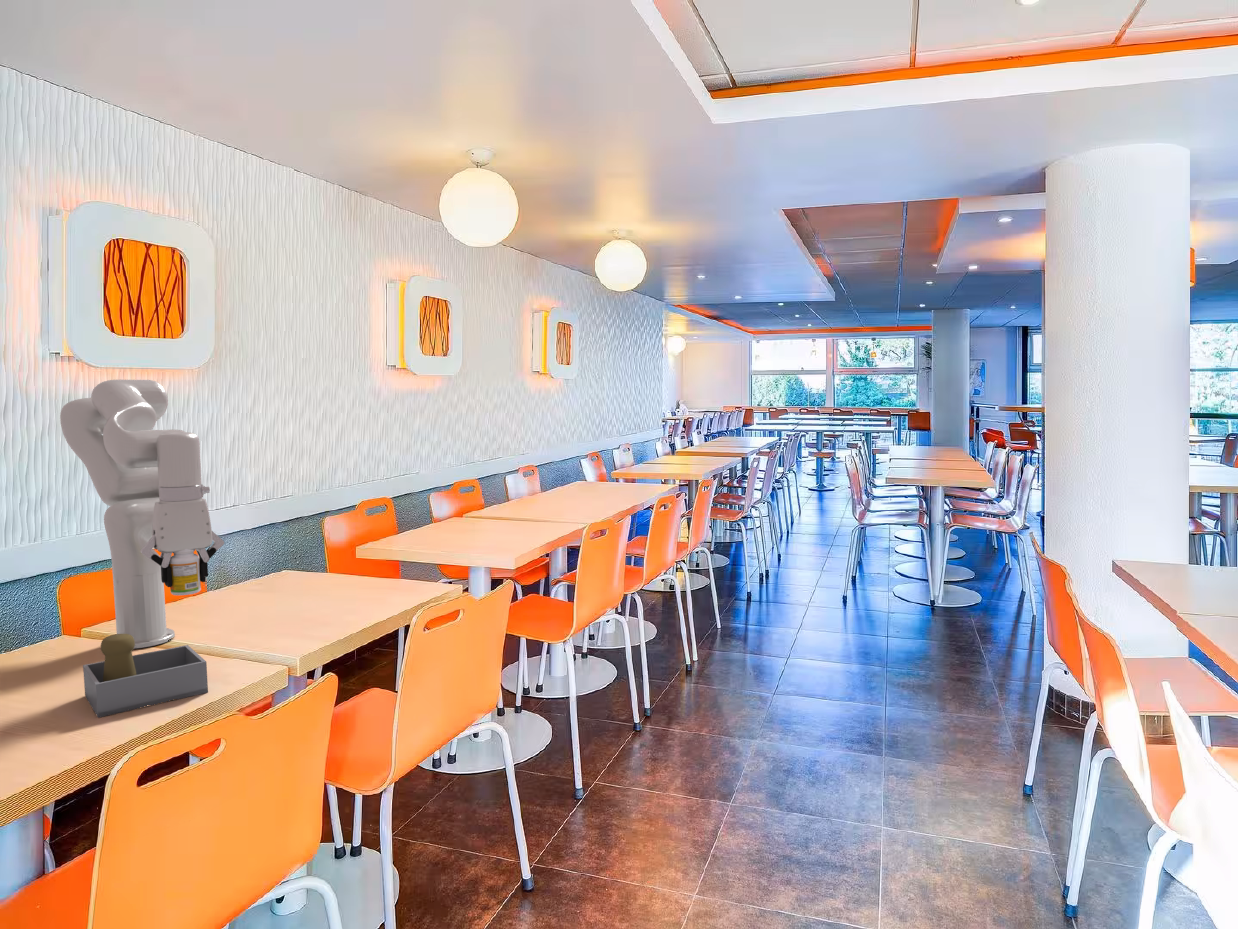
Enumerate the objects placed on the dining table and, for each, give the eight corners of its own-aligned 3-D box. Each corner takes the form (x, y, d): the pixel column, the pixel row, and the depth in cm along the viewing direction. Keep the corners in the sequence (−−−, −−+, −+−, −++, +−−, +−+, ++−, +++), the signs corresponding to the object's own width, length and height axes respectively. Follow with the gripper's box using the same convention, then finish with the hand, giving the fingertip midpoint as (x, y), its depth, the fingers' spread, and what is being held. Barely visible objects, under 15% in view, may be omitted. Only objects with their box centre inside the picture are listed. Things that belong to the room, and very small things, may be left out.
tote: (85, 696, 147) (82, 665, 146) (189, 673, 158) (187, 645, 157) (98, 717, 137) (95, 684, 136) (208, 692, 148) (206, 661, 148)
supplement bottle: (178, 589, 165) (175, 542, 164) (205, 588, 166) (203, 542, 165) (165, 596, 160) (162, 547, 159) (193, 595, 160) (191, 547, 159)
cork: (92, 700, 143) (88, 639, 142) (120, 688, 148) (116, 629, 147) (122, 702, 141) (118, 641, 140) (148, 690, 147) (145, 631, 146)
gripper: (221, 488, 169) (225, 573, 171) (127, 496, 158) (132, 586, 160) (232, 492, 164) (236, 580, 166) (135, 500, 152) (140, 594, 154)
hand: (185, 582), depth 163 cm, fingers closed on supplement bottle, 5 cm apart
